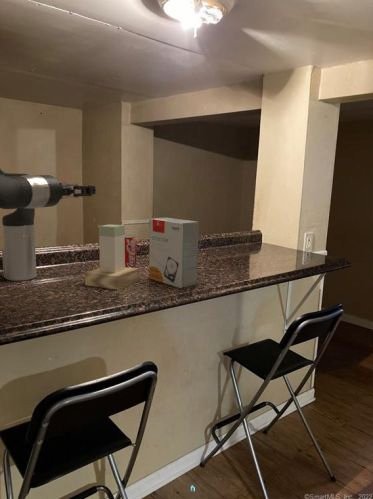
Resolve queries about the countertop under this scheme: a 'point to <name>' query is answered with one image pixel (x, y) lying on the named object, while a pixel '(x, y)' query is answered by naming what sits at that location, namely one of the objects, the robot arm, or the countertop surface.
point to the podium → (112, 278)
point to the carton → (112, 248)
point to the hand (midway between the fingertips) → (81, 189)
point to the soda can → (130, 251)
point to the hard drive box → (173, 251)
